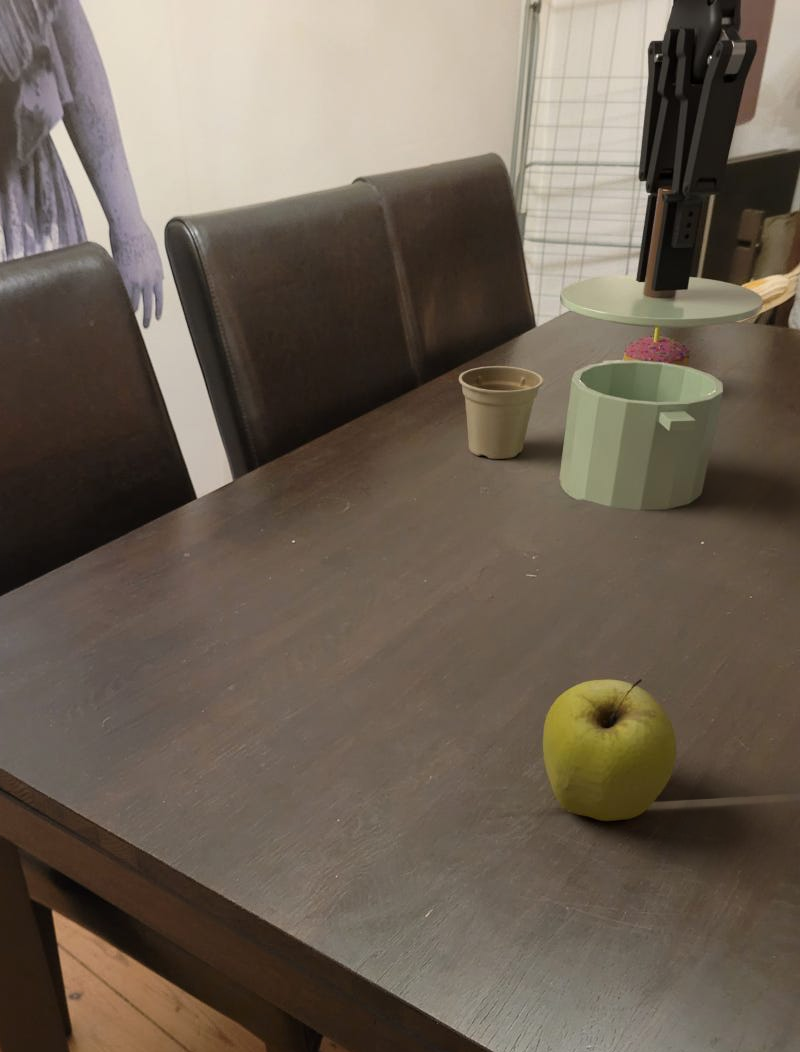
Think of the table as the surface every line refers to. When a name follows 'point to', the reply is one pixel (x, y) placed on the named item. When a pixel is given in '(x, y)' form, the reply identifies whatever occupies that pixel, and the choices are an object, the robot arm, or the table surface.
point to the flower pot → (498, 408)
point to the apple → (608, 749)
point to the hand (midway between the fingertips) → (661, 284)
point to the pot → (639, 434)
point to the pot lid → (660, 296)
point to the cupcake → (657, 350)
